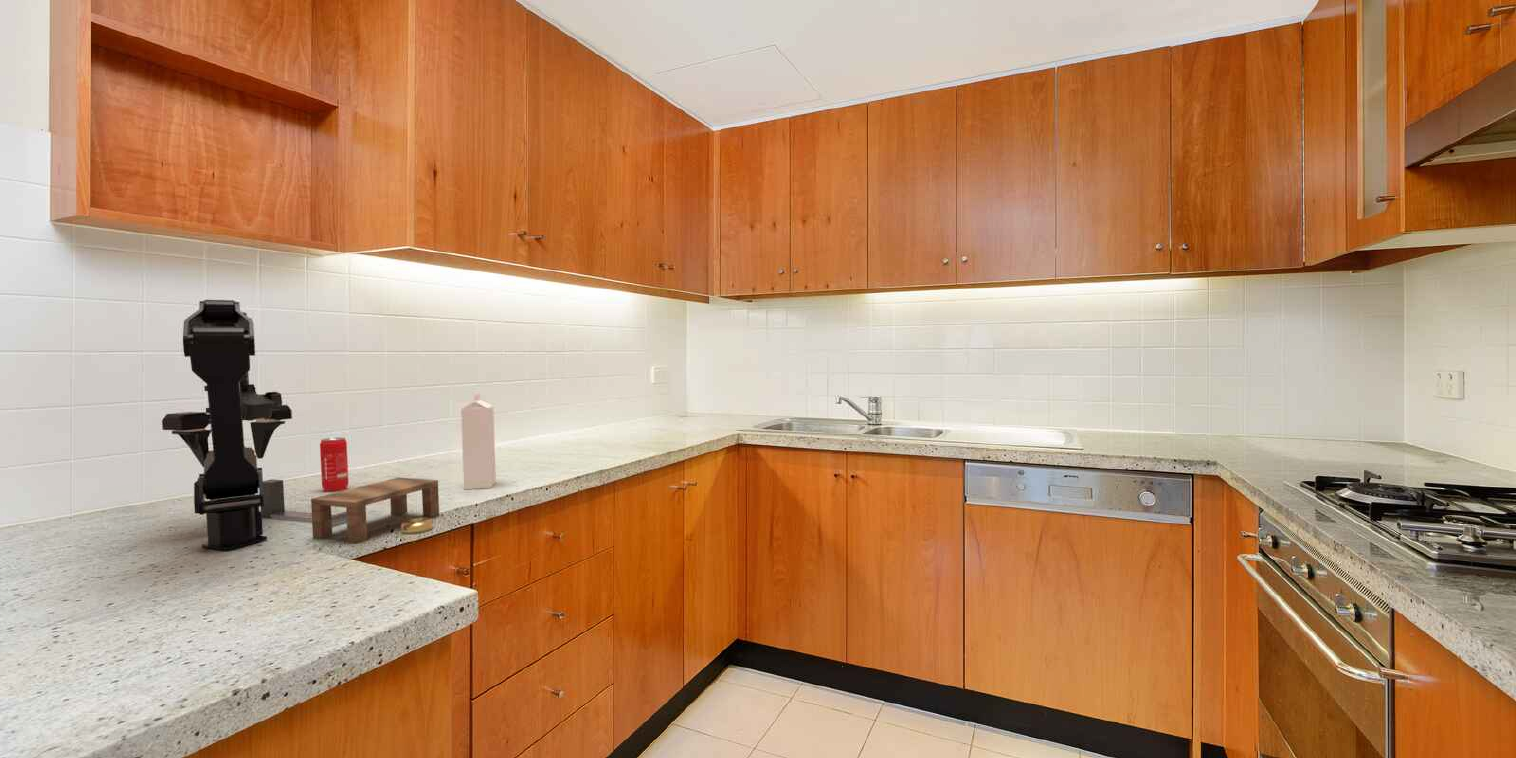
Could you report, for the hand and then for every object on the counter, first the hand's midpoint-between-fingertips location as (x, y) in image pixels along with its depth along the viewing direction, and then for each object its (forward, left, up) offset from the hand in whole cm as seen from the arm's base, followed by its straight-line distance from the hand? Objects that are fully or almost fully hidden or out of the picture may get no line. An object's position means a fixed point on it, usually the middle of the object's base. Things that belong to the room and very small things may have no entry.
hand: (234, 462), depth 118 cm
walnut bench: (+7, -27, -12) cm, 30 cm away
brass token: (+7, -36, -12) cm, 38 cm away
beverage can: (+28, +10, -12) cm, 32 cm away
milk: (+40, -21, -12) cm, 46 cm away
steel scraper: (+7, -8, -12) cm, 16 cm away
